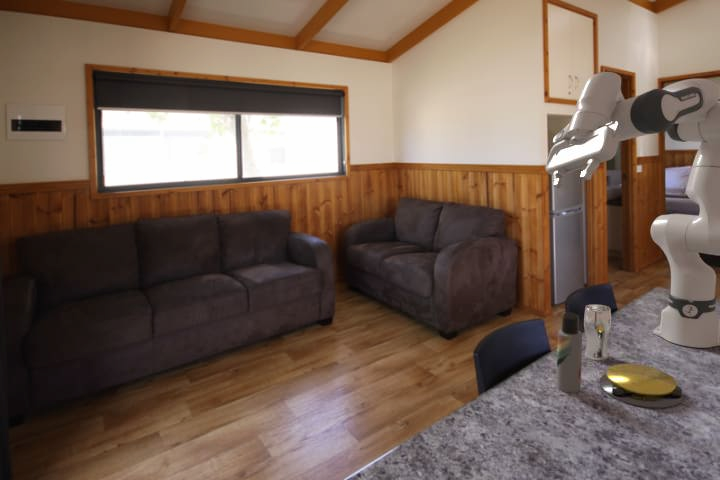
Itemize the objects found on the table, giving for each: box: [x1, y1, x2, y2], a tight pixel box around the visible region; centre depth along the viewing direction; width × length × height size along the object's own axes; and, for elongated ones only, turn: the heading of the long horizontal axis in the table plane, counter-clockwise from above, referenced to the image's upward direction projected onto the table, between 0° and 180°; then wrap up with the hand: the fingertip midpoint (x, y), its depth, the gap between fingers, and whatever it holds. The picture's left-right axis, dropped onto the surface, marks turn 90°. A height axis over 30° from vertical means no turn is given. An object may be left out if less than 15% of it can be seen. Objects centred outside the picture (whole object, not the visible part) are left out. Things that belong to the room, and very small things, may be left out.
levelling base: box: [599, 363, 684, 410], centre depth 117 cm, size 18×18×3 cm
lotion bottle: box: [556, 312, 583, 394], centre depth 118 cm, size 6×6×20 cm
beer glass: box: [583, 304, 612, 361], centre depth 135 cm, size 7×7×15 cm
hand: (570, 183), depth 110 cm, fingers open, 8 cm apart
